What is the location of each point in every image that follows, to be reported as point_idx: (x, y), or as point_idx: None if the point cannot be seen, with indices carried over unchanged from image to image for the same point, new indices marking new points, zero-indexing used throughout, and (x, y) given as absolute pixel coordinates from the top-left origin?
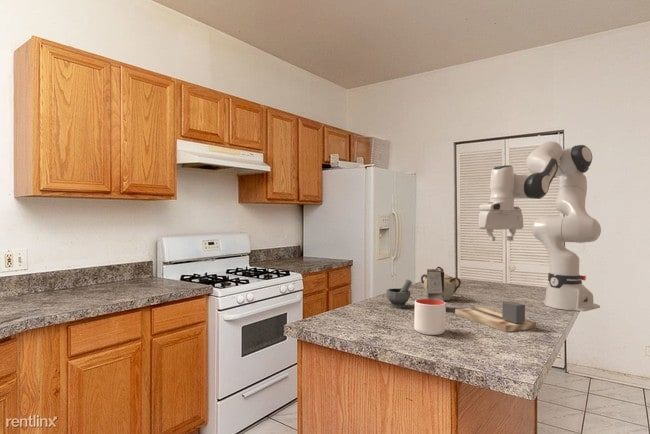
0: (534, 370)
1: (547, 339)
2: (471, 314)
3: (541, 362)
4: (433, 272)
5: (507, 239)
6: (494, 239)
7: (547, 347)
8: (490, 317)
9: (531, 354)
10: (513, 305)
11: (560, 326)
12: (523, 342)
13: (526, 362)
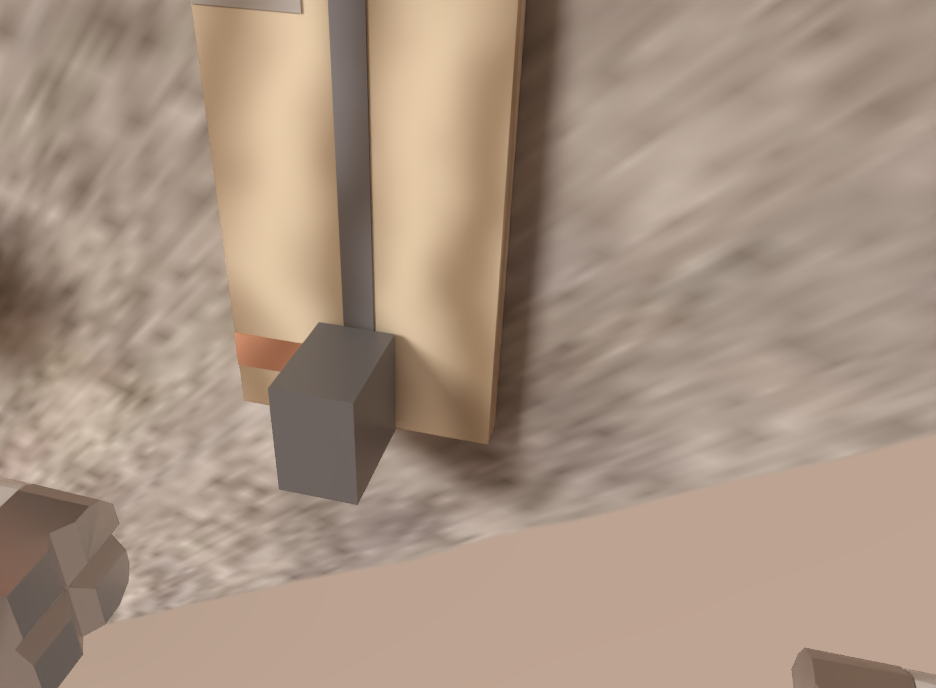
0: None
1: (369, 533)
2: (209, 113)
3: (135, 613)
4: None
5: (807, 677)
6: (78, 618)
7: (276, 571)
8: (290, 240)
9: (155, 571)
10: (278, 467)
11: (680, 474)
12: (227, 499)
13: None
